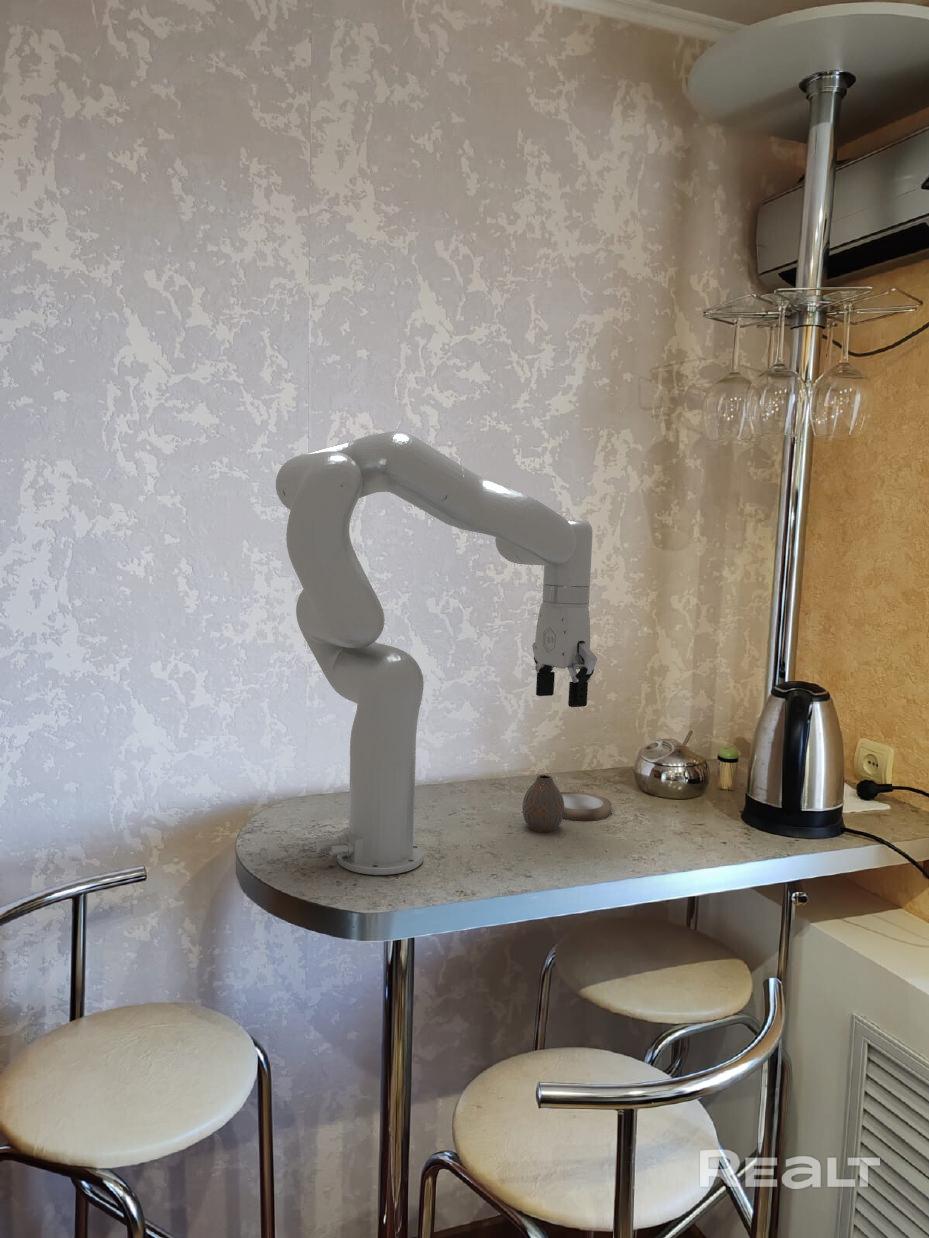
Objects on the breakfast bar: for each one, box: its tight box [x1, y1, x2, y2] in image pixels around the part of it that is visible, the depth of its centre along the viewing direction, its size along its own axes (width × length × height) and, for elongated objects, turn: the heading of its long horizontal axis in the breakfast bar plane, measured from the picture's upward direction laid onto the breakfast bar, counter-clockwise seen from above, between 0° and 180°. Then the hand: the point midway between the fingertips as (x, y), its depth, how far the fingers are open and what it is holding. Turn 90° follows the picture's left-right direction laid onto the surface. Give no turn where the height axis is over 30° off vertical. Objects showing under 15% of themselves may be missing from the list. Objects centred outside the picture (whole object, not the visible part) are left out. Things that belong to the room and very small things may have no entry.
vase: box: [521, 774, 564, 833], centre depth 147 cm, size 7×7×9 cm
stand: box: [560, 791, 613, 822], centre depth 157 cm, size 12×12×2 cm
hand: (560, 700), depth 146 cm, fingers open, 9 cm apart
